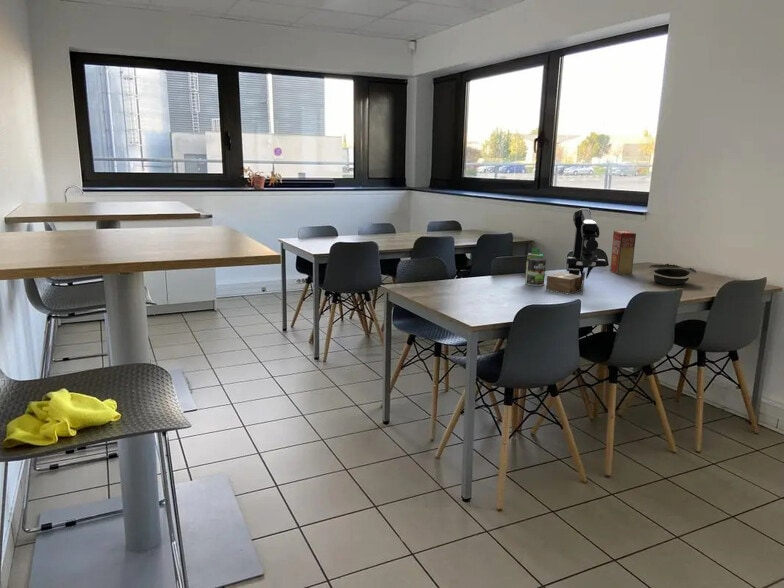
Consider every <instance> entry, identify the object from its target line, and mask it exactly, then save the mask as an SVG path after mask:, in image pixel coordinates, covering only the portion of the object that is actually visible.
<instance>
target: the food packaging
mask: <svg viewBox="0 0 784 588" xmlns="http://www.w3.org/2000/svg"><path fill="white" fill-rule="evenodd" d="M636 236H637V233H636V232H632V231H629V230H613V235H612V249H611V258H610V267H609V271H610V270H611V271H610V272H612V271H613V272H612V273H614V272H615V273H614V274H616V273H617V274H616V275H618V274H632V275H633V266H634V257H635V247H636V246H635V245H636V238H637V237H636Z"/></svg>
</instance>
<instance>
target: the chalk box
mask: <svg viewBox="0 0 784 588" xmlns="http://www.w3.org/2000/svg"><path fill="white" fill-rule="evenodd" d="M535 251H536V252H535ZM540 252H541V250H540V248H534V247H533V248H531V252H528V253H527V255H526V259H527V258H530V257H537V258H544V254H543V253H540ZM525 265H526V266H527V263H526V264H525ZM526 266H525V267H526Z"/></svg>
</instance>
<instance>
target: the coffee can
mask: <svg viewBox="0 0 784 588" xmlns="http://www.w3.org/2000/svg"><path fill="white" fill-rule="evenodd" d="M546 263H547V259H546V258H544V257H543V258H537V257H530V258H527V257H526V264H527V266H525V282H524V284H525V285H527V286H533V287H542V286H545V275H546Z"/></svg>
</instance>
